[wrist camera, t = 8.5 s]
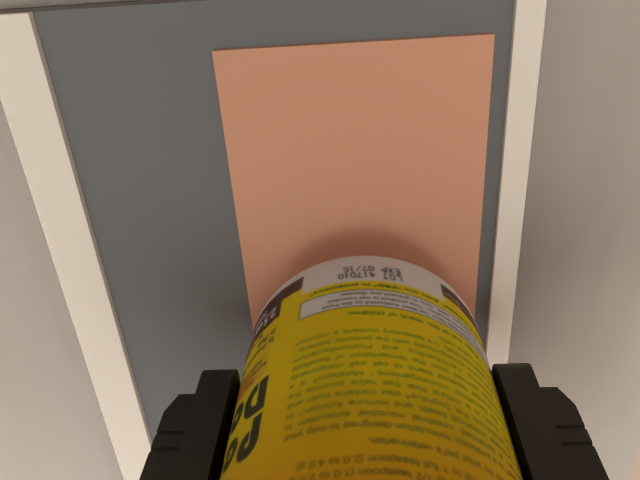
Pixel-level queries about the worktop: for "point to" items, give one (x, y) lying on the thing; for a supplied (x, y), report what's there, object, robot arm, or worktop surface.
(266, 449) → the supplement bottle
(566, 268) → the worktop surface
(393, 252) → the mat
